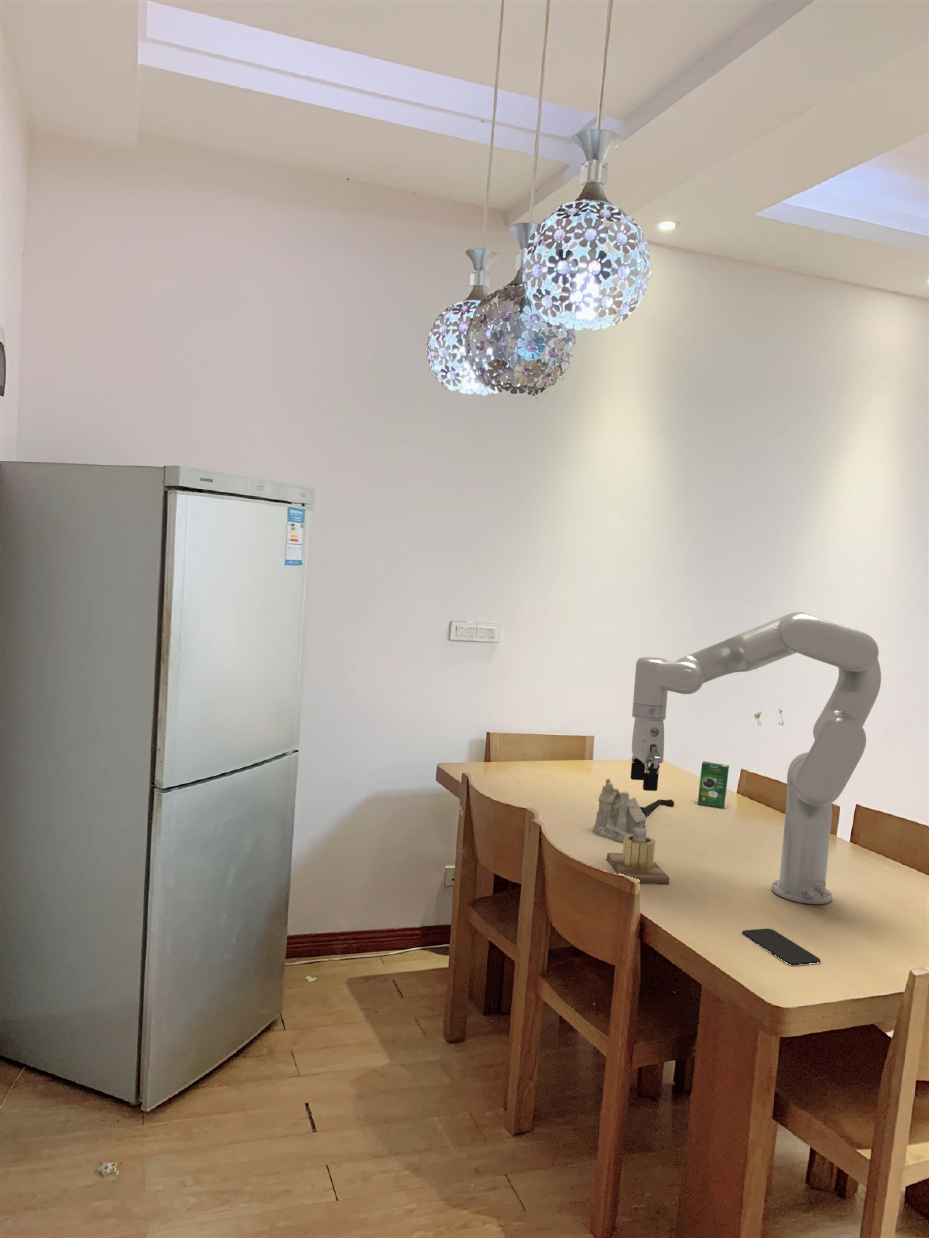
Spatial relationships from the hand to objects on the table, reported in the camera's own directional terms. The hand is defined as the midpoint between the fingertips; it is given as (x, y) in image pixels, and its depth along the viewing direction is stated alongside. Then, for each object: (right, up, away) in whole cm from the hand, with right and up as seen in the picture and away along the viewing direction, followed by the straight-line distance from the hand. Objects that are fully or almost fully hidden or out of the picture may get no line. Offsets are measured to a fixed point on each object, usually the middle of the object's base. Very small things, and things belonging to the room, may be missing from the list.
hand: (643, 784), depth 207 cm
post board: (-1, -20, +1) cm, 20 cm away
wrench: (+13, -19, +50) cm, 55 cm away
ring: (-1, -19, +1) cm, 19 cm away
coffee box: (+34, -19, +65) cm, 76 cm away
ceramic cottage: (+1, -19, +31) cm, 36 cm away
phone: (+18, -25, -37) cm, 48 cm away
